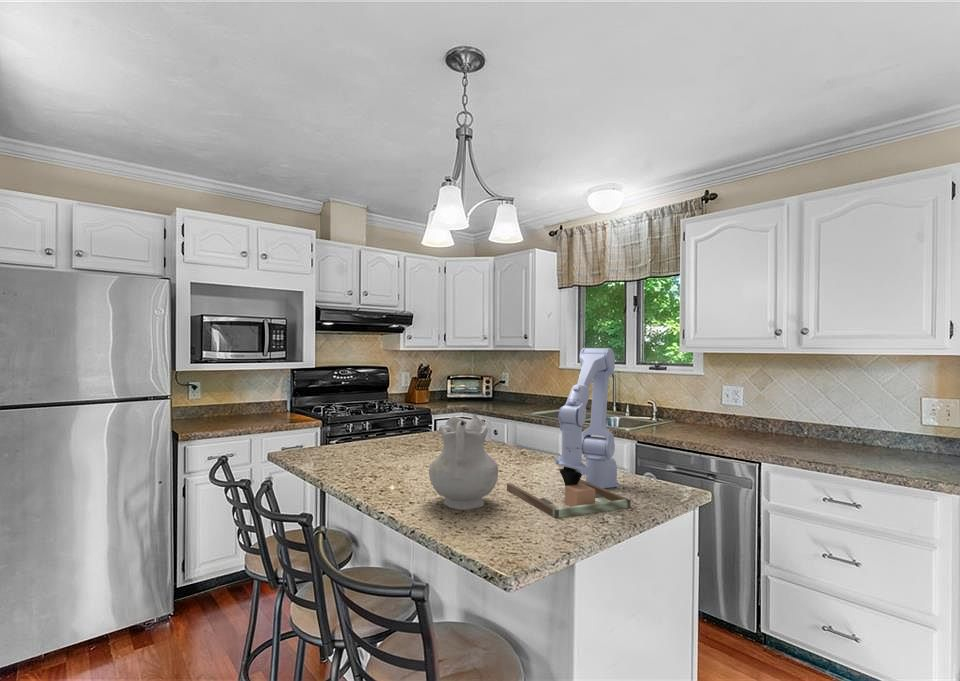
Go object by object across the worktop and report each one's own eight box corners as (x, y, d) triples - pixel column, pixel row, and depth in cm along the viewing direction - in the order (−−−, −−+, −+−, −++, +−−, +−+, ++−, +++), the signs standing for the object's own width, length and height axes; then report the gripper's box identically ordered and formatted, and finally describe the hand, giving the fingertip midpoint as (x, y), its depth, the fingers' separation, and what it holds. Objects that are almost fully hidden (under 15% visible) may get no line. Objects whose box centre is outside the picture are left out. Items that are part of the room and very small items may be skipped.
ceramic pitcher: (503, 520, 136) (511, 424, 137) (428, 517, 133) (437, 419, 133) (488, 496, 157) (495, 414, 158) (424, 493, 154) (431, 409, 155)
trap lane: (573, 482, 170) (573, 476, 170) (630, 507, 145) (630, 500, 145) (506, 489, 161) (506, 483, 161) (554, 518, 135) (554, 510, 135)
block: (582, 501, 150) (582, 483, 150) (595, 507, 144) (595, 489, 144) (564, 503, 147) (564, 485, 147) (576, 509, 142) (577, 491, 142)
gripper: (546, 443, 155) (546, 489, 155) (574, 452, 142) (573, 502, 142) (566, 441, 158) (566, 486, 158) (595, 451, 144) (595, 500, 144)
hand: (571, 494), depth 150 cm, fingers closed
